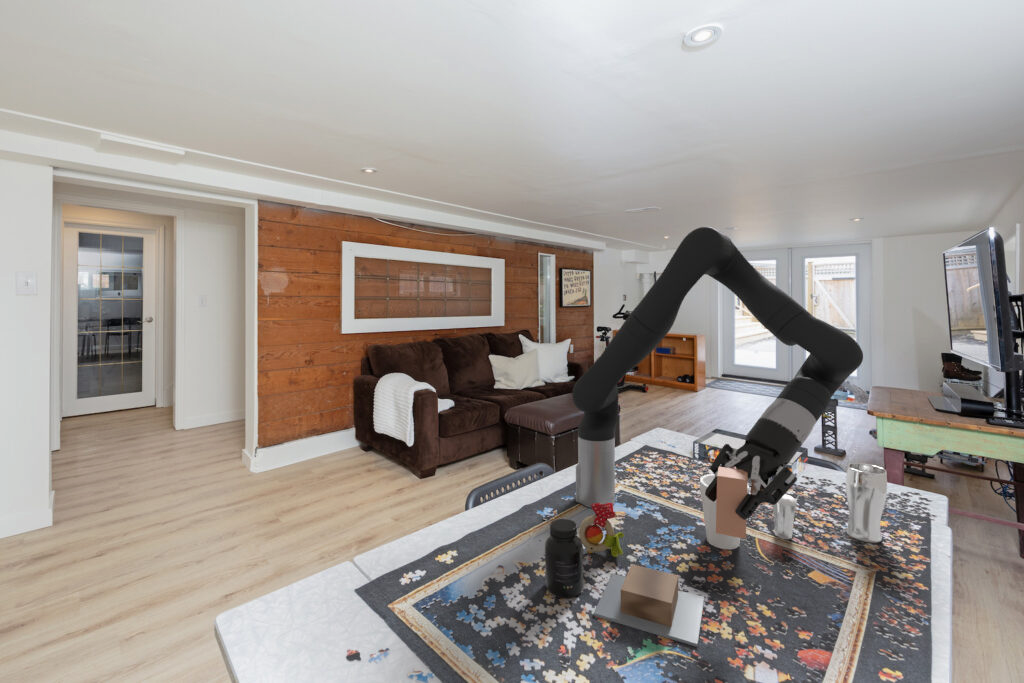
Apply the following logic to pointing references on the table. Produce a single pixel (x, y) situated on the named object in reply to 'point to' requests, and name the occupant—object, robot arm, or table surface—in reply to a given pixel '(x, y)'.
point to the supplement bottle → (564, 559)
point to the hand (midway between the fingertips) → (723, 506)
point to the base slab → (650, 595)
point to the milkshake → (784, 516)
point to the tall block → (730, 501)
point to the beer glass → (865, 500)
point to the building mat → (682, 625)
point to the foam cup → (714, 518)
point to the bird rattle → (600, 530)
